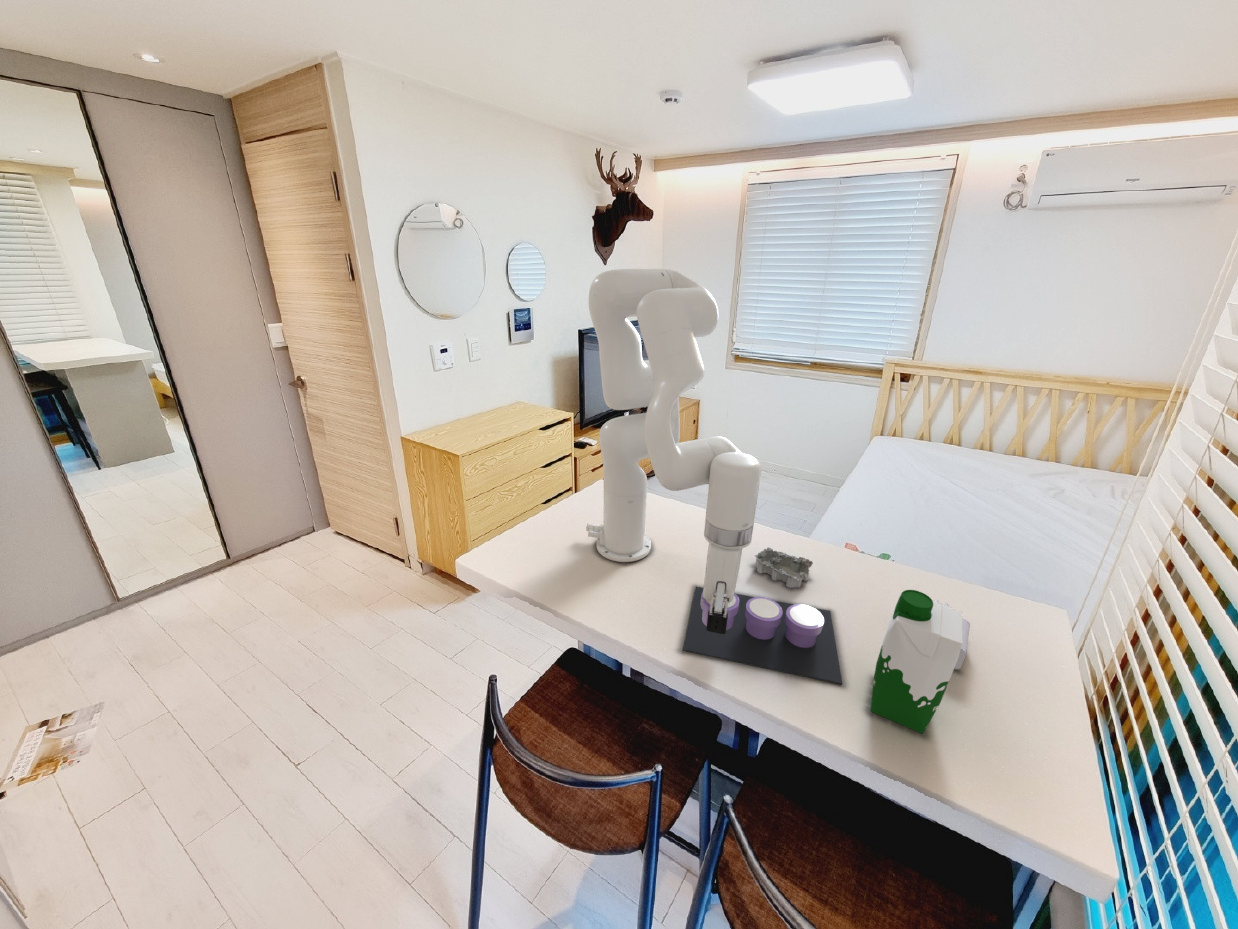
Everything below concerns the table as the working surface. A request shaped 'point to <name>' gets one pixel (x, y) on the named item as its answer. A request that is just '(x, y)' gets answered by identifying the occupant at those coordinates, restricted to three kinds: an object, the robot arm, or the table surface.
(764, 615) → the dish middle
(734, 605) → the purple short cylinder
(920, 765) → the table surface
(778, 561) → the egg carton
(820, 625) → the dish right
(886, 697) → the milk carton
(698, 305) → the robot arm
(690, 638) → the placemat
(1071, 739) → the table surface
